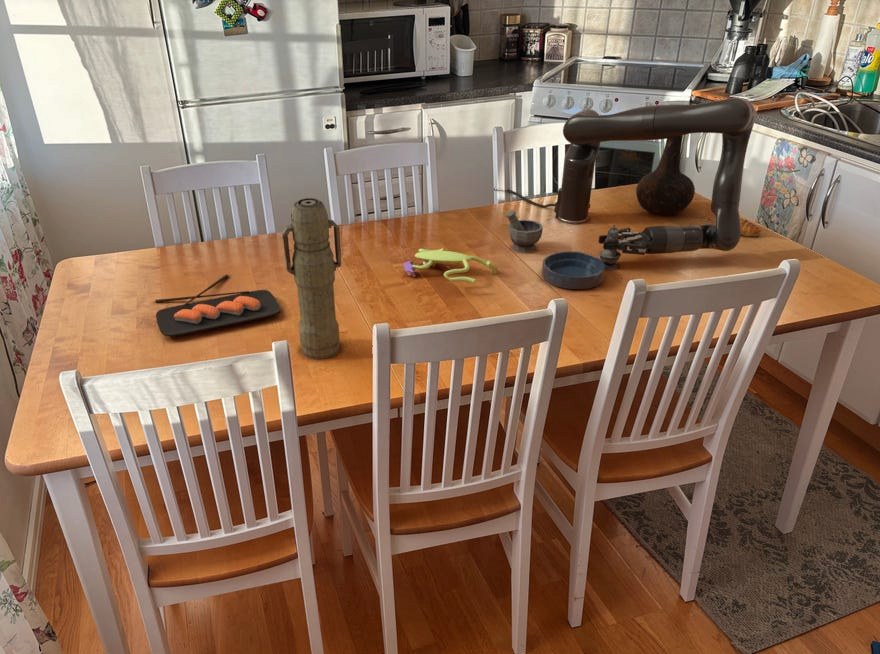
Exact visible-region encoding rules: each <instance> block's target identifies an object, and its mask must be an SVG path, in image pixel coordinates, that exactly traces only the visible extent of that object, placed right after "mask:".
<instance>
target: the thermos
mask: <svg viewBox="0 0 880 654" xmlns="http://www.w3.org/2000/svg"><path fill="white" fill-rule="evenodd" d="M290 217H291V218H290V224H287V225H285V227H284V229H282V232H281V237H282V245H283V252H284V254H283V255H284V263H285V264H284V265H285V270H286V271H287V273H289V274H290V275H293V281H294V283H295V285H296V289H297V299H298V308H299V322H298V333H299V342H300V344H301V353H302V354H303V356H304V357H306V358H308V359H312V360H324V359H329V358H332V357H335V356H336V355H337V354H338V353H339V351H340V348H341V347H340V339H341V338H340V326H339V322H338V320H337V315H336V303H335V289H334V287H335V286H334V283H335V281H336V272H337V269H338V268H340V267H342V252H341V251H342V247H341V233H340V232H341V231H340V227H339V225H338V224H337V223H336V222H335V220H333V219H329V214H328V211H327V208H326V206H325V204H324V202H323V201H322V200H320V199H318V198H314V197H305V198H301V199H299V200H297V201H295V202H294V203H293V206H292V209H291V214H290ZM332 227H333V237H334V238H333V239H334V252H333V251H332V248H331V242H330V240H329V239H330V229H332ZM291 232H292V240H293V242H294V243H293V253H292V258H291V252H290V242H289V234H290V233H291ZM334 253H335V255H334ZM334 256H335V257H334Z"/></svg>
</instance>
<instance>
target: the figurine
mask: <svg viewBox="0 0 880 654" xmlns="http://www.w3.org/2000/svg"><path fill="white" fill-rule="evenodd" d="M414 257H415V258H416V259H418V260H421V261H422V265H416V264H414V263H415V262H414V261H413V260H408V261H406V262H403V263H402V266H403V268H404V271H405V273H406V275H407V277H412V278H415V277H417V276H418V272H417V271H416V270H426V269H429V268H430V267H432V268H433V269H434V267H435V266H436V265H437V264H442V265H443V266H445V267H446V268H447V269H448V270H446V271H445V272H444V273H443V276H444V278H445V279H446V280H448V281H450V282H457V283H458V282H468V283H471V284H474V285H475V284H476V283H477V280H476V279H475V278H473V277H469V276H456V277H449V276H450V275H454V274H463V273H464V274H465V273H467V272H469V270H470V264H469V262H470V261H475V262H477V263H480V264H482V265H483V266H485V267H486V268H487V269H489V270H492V271H493V274H497V273H498V272H499V271H498V268H497V266H496V265H495V264H494V263H492V261H490V260H484V259H482V258H481V257H478V256H475V255H468V254H465V253H461V252H458V251H457V252H456V251H449V250H444V247H442V248H439V249H425V248H419V249H418V251H417V252H416V253H415V254H414ZM448 264H453V265H455V264H463V265H464V267H463V268H453V269H452V267H450V265H448Z"/></svg>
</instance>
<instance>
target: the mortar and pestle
mask: <svg viewBox="0 0 880 654" xmlns="http://www.w3.org/2000/svg"><path fill="white" fill-rule="evenodd" d="M505 217H506V218H507V219H508V222H509V223H508V234H509V239H510V241H511V242H512V243H513V246H512V247H513V250H514V251H516V252H519V253H530V252H531V253H532V252H533V251H535V249H536V248H535V245H536V244H537V243H538V242H539V241H540V240H541V238H542V236H543V231H544V230H543V228H544V227H543V224H542V223H540V222H538V221H536V220H530V219H519V218H518V216H517V215H516V211H515V210H514V209H511V210H508V211H507V212H506V213H505Z"/></svg>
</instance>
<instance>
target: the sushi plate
mask: <svg viewBox="0 0 880 654" xmlns="http://www.w3.org/2000/svg"><path fill="white" fill-rule="evenodd" d="M228 277H229V274H225V275H223V276H222V277H220V278H219V279H218V280H216V281H215V282H213V283H212V284H211V285H209V286H208V287H207V288H206V289H204V290H203V291H201V292H200V293H198V294H197V295H194V296H193V295H192V296H182V297H171V298H160V299H155V303H167V302H174V301H184V300H188V301H187V302H185V303H183V304H179V305H175V306H174V305H173V306H170V307H169V306H168V307H165V308H162V309H159V310H158V311H157V312H156V313H155V319H156V323H157V326H158V329H159V331H160V333H161V334H162V336H164V337H177V336H182V335H188V334H193V333H198V332H203V331H208V330H212V329H217V328H221V327H226V326H227V327H228V326H231V325H236V324H240V323H241V324H242V323H245V322H250V321H255V320H259V319H260V320H261V319H266V318H268V317H273V316H275V315H278V314H280V313H281V306H280V303H279V302H278V301H277V299H276V298H275V296H274V294H272V292H271V291H269V290H267V289H257V290H251V291H250V290H245V291H234V292H225V293H215V294H205V293H206V292H207V291H209V290H211V289H212V288H214V287H215V286H216V285H218V284H220V283H221V282H223V281H224V280H226V279H227V278H228ZM203 294H204V295H203ZM218 296H220V297H218ZM209 297H215V298H209ZM200 298H201V299H202V298H209V299H205V300H199V301H195V302H192V301H194V300H196V299H200Z"/></svg>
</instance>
